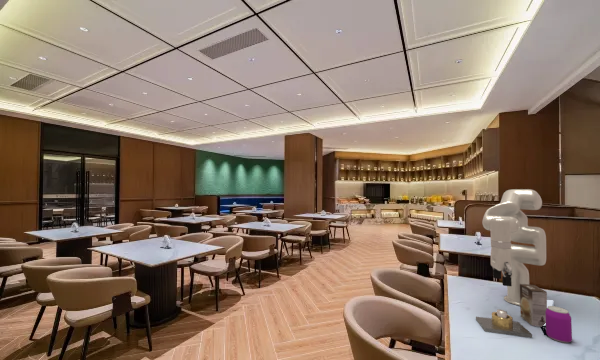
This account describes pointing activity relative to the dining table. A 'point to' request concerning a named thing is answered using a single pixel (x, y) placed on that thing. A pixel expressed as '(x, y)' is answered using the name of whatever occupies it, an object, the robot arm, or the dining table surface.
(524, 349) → the dining table surface
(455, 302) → the dining table surface
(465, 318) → the dining table surface
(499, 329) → the stand
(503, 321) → the brass ring
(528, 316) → the coffee box
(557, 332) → the beverage can
